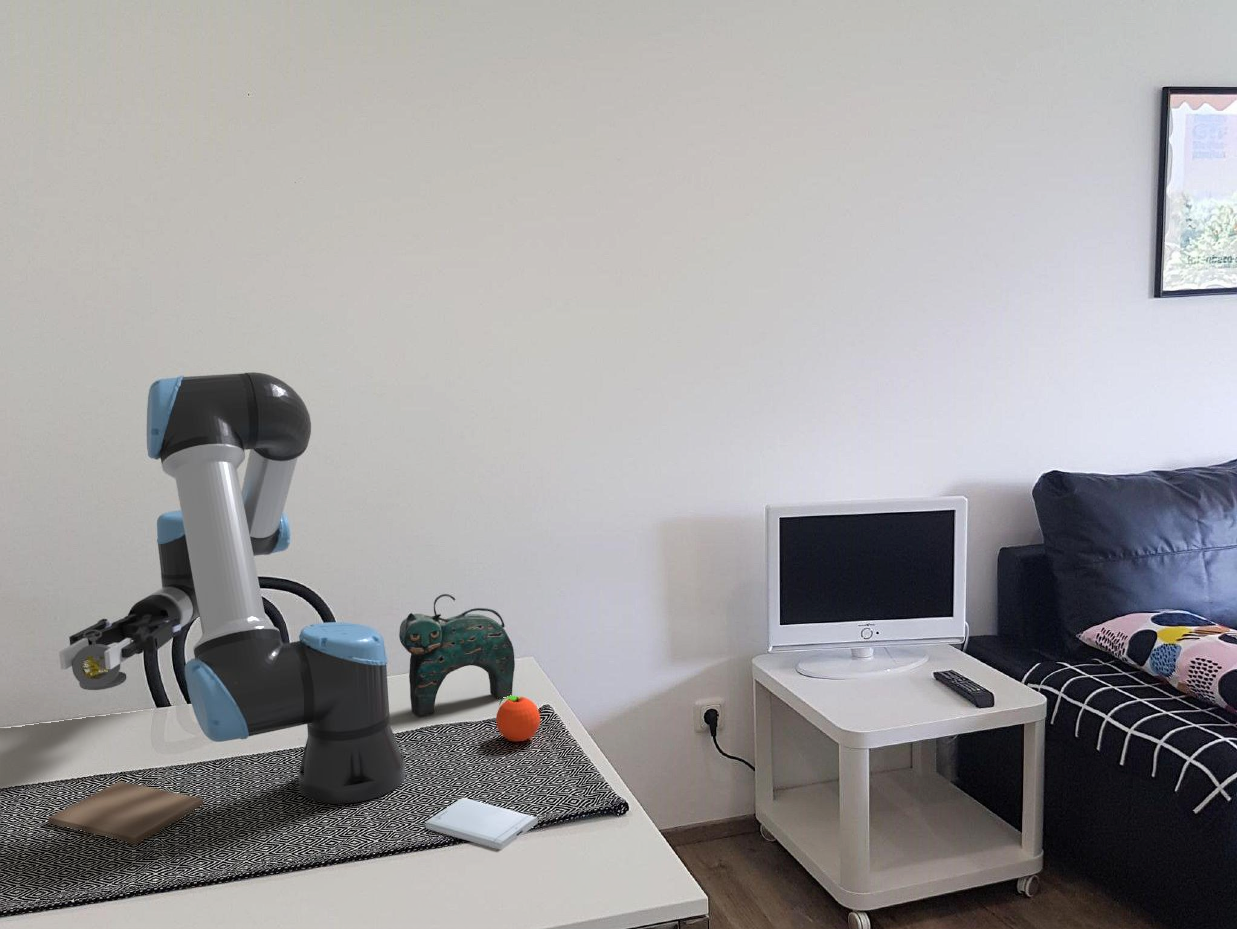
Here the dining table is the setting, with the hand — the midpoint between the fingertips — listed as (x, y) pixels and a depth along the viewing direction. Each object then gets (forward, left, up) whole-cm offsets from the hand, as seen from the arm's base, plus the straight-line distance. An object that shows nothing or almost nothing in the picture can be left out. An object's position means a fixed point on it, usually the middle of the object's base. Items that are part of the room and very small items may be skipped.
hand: (85, 660), depth 165 cm
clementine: (-53, -34, -18) cm, 66 cm away
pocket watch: (+3, -4, -6) cm, 8 cm away
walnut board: (-15, +8, -18) cm, 25 cm away
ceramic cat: (-36, -44, -18) cm, 60 cm away
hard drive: (-63, -7, -19) cm, 66 cm away
